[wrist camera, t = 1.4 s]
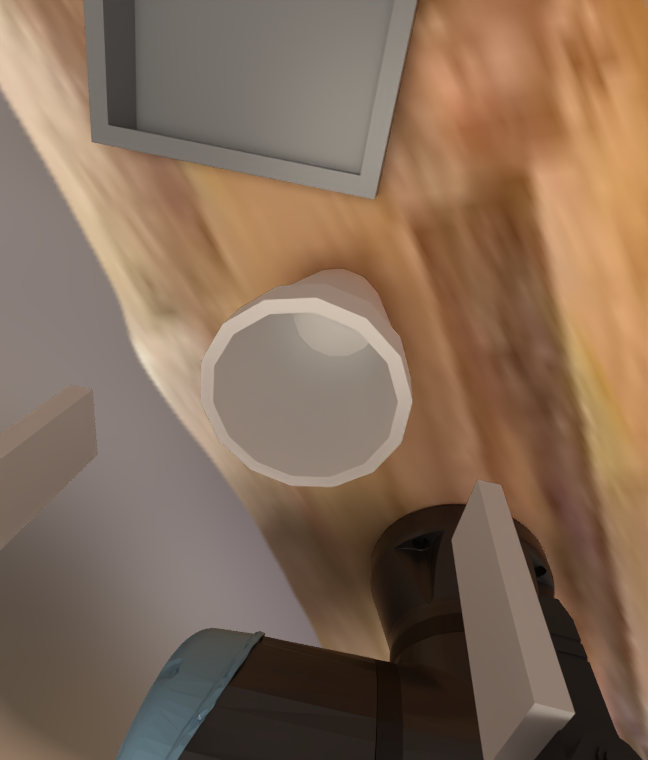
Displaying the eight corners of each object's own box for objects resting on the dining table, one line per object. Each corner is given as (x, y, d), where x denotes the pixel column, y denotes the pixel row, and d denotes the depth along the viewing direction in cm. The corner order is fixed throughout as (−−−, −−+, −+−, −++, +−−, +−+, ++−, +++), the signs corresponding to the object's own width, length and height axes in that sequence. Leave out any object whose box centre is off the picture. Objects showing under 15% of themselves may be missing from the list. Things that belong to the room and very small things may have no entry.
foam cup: (255, 344, 33) (179, 441, 21) (295, 222, 29) (228, 260, 17) (372, 392, 33) (360, 513, 22) (429, 279, 29) (452, 354, 17)
